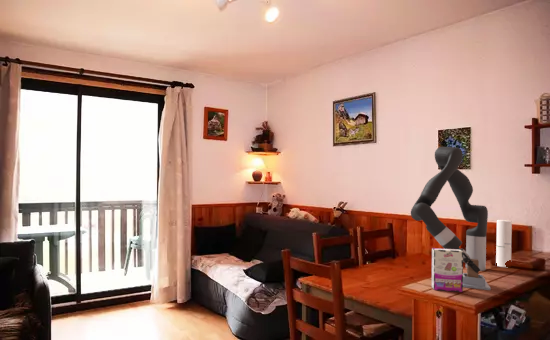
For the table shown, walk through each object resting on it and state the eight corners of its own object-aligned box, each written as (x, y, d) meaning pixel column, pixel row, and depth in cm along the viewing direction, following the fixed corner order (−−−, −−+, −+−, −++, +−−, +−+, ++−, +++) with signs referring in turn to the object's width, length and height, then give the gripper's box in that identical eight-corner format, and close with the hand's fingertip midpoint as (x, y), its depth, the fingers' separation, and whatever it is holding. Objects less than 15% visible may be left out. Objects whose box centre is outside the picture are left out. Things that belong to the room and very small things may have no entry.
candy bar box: (459, 289, 160) (460, 249, 161) (463, 292, 155) (463, 251, 156) (430, 287, 162) (431, 247, 163) (433, 290, 157) (434, 249, 158)
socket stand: (456, 280, 176) (456, 271, 176) (485, 283, 172) (486, 274, 172) (458, 286, 165) (458, 277, 165) (490, 290, 160) (490, 280, 161)
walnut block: (466, 277, 171) (467, 258, 171) (476, 279, 169) (477, 259, 170) (467, 279, 167) (468, 259, 167) (478, 281, 166) (478, 260, 166)
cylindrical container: (513, 267, 211) (513, 221, 212) (498, 266, 212) (499, 220, 213) (508, 265, 218) (508, 220, 218) (494, 264, 219) (494, 219, 220)
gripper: (455, 236, 165) (487, 268, 160) (453, 232, 178) (482, 262, 173) (442, 247, 167) (473, 279, 162) (440, 243, 180) (469, 272, 175)
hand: (477, 270), depth 168 cm, fingers closed on walnut block, 3 cm apart
